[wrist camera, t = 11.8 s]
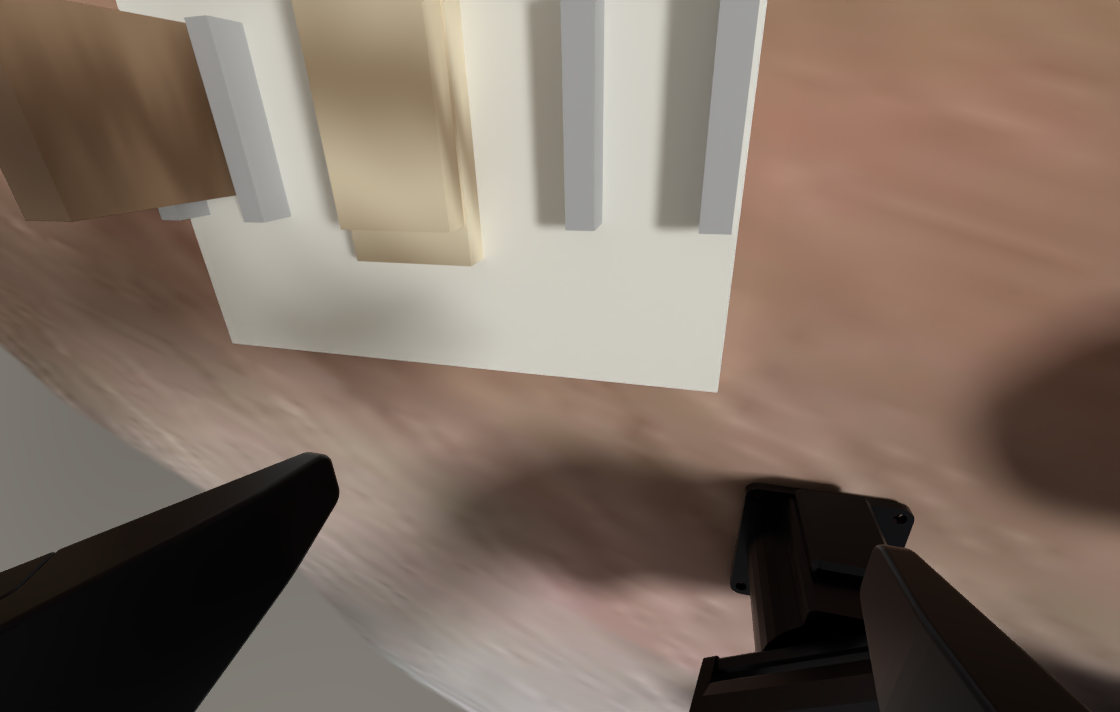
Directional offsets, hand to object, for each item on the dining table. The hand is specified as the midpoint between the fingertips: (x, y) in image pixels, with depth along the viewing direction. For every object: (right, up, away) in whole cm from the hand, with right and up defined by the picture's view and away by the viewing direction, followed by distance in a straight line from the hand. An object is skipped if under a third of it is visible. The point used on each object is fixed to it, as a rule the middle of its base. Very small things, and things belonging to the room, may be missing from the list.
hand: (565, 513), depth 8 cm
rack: (-5, +12, +11) cm, 17 cm away
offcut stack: (-6, +11, +10) cm, 16 cm away
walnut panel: (-14, +12, +12) cm, 23 cm away
